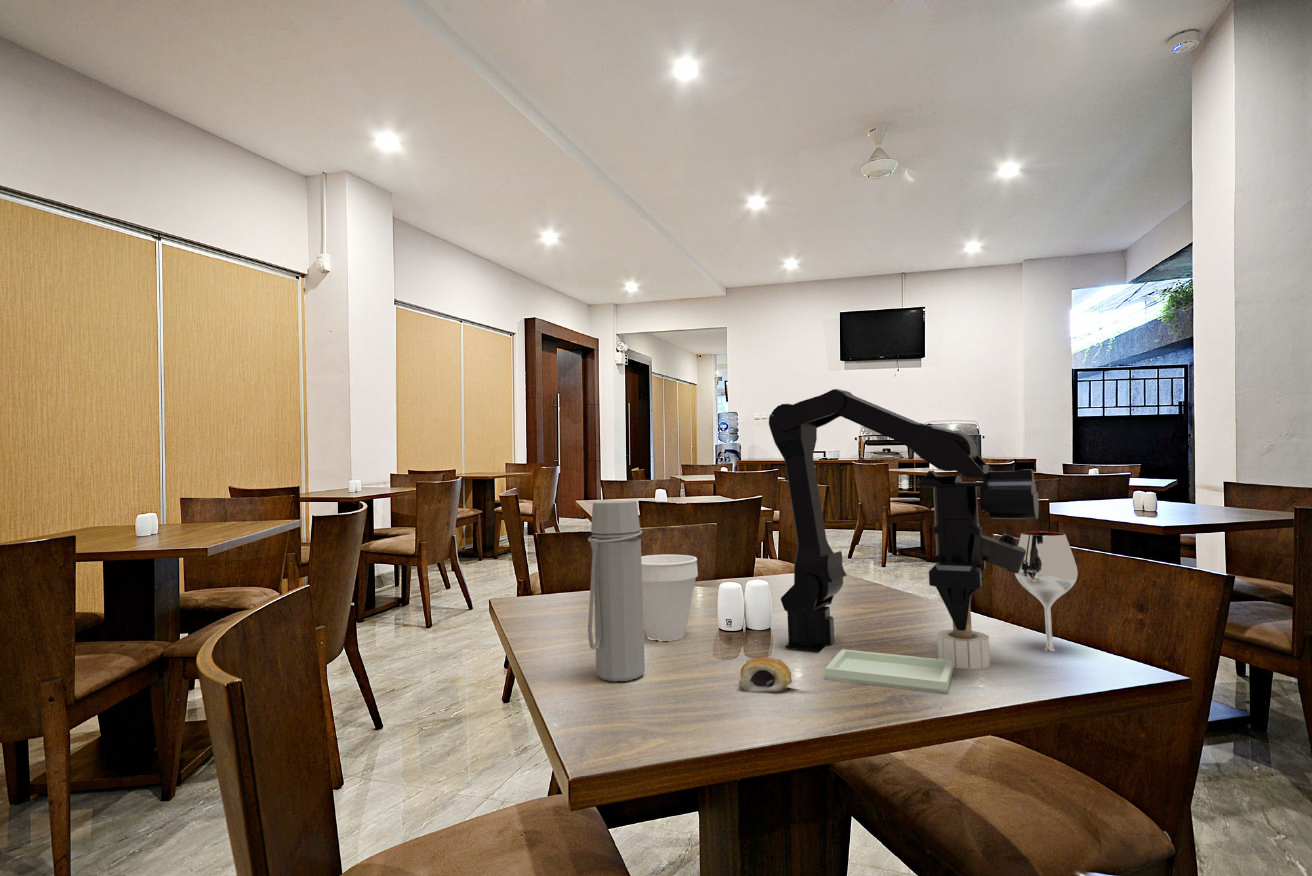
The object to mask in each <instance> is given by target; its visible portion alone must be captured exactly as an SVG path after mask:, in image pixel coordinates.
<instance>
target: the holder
mask: <svg viewBox="0 0 1312 876" xmlns="http://www.w3.org/2000/svg"><path fill="white" fill-rule="evenodd" d="M936 640H937V641H936V642H937V657H938V658H937V659H945V660H953V667H954V668H955V669H965V670H981V669H985V668H988V667H991V655H990V636H989V634H986V633H983V632H981V631H975V630H972V639H962V638H955V637H954V635H953V629H943V630H939V631H938V632H937V635H936Z"/></svg>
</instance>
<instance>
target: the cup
mask: <svg viewBox="0 0 1312 876" xmlns="http://www.w3.org/2000/svg"><path fill="white" fill-rule="evenodd" d="M641 560H642V592H643V623H644V635H645V637H646V636H647V637H649V638H652V639H660V640H674V639H680V638H682V637H684V636H685V637H686V633H687V632H686V631H687V626H688V622H689V616H690V610H691V606H692V599H693V595H694V589H695V584H696V578H697V577H699V571H698V562H697V561H698V558H697V557H696V556H694V555H687V554H685V555H684V554H652V555H651V554H649V555H641ZM685 637H684V638H685ZM680 640H681V639H680Z"/></svg>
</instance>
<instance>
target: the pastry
mask: <svg viewBox="0 0 1312 876" xmlns="http://www.w3.org/2000/svg"><path fill="white" fill-rule="evenodd" d="M792 680H793V679H792V672H791V670H790V667H789V666H787V664H786V663H785V662H783V660H781V659H779V658H778V659H777V658H775V657H773V656H772V657H771V656H770V657H769V656H755V657H754V658H750V659H748V660H746V661H745V663H744V664H743V665H742V666H741V668H740V679H739V682H738V683H739V686H740V687H741V689H742V690H743V691H745V692H749V693H780V692H785V691H787V690H788V689H790V687H788V686H789V685H790V684H791V683H792Z"/></svg>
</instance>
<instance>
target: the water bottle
mask: <svg viewBox="0 0 1312 876" xmlns="http://www.w3.org/2000/svg"><path fill="white" fill-rule="evenodd" d="M639 516H640V515H639V509H638V501H637V500H610V501H609V500H606V501H596V502H594V501H593V502H592V512H591V524H590V525H591V528H590V530H591V531H590V533H592V534H591V535H590V536H589V537H588V538H587V540H588V542H589V543H590V545H591V547H590V548H591V550H592V557H591V559H592V560H591V573H590V574H591V575H590V590H589V606H588V607H589V608H588V620H587V621H588V622H587V623H588V625H587V635H588V643H589V648H590V649H592V650H595V663H596V664H595V671H596V673H595V674H596V675H597V677H599V678H601V679H602V680H605V681H606V680H607V681H608V682H612V681H614V682H613V683H618V682H617V681H626V682H630V681H634V680H633V679H635V680H636V679H638V678H640V677H642V676H643V675H644V673H645V672H646V671H645V670H646V663H645V662H646V661H645V660H646V659H645V657H646V656H645V630H644V623H643V592H642V560H641V556H642V539H641V538H639V536H641V535H642V534H643V530H642V529H641V525H640V518H639ZM593 616H594V618H593ZM593 619H594V634H595V636H594V637H595V639H594V638H593ZM593 639H594V640H595V643H594V640H593ZM629 680H630V681H629ZM607 681H606V682H607Z"/></svg>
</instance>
